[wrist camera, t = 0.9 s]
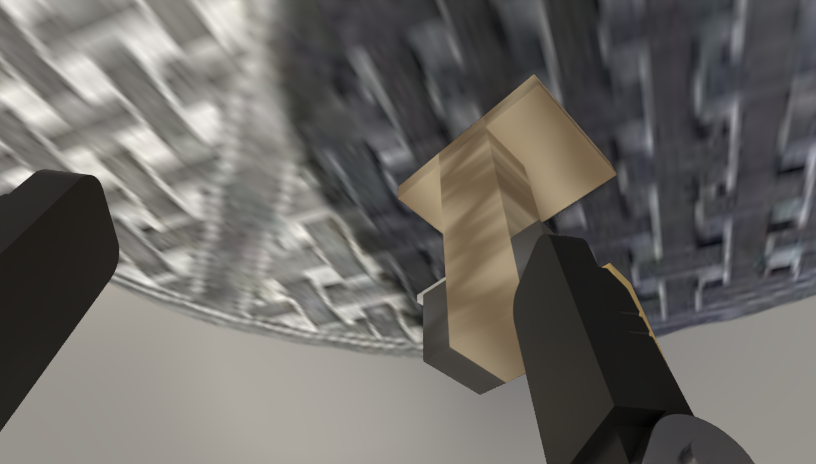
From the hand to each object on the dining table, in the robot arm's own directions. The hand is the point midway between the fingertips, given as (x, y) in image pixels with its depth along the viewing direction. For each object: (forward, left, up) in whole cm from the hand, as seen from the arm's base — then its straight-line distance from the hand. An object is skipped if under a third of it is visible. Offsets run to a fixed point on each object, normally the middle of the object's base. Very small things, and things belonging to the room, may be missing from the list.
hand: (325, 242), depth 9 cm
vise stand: (+4, +19, -22) cm, 29 cm away
